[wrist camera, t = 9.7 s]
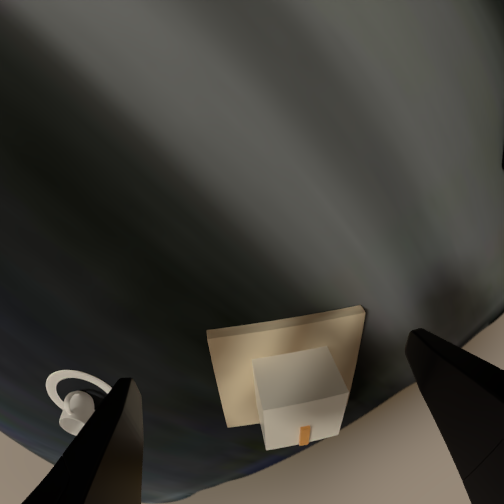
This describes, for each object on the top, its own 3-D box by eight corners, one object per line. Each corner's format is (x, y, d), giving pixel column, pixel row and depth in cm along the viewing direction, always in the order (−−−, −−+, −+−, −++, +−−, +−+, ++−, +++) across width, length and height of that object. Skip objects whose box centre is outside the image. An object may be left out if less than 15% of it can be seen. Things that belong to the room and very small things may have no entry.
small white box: (326, 345, 24) (350, 395, 20) (321, 391, 27) (339, 437, 23) (251, 359, 24) (263, 414, 19) (256, 404, 27) (266, 453, 22)
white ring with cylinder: (119, 428, 29) (116, 460, 25) (50, 408, 26) (41, 438, 23) (128, 380, 25) (122, 417, 22) (45, 355, 23) (31, 389, 19)
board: (360, 304, 24) (382, 336, 21) (343, 397, 30) (357, 427, 26) (206, 330, 23) (209, 369, 20) (226, 419, 29) (231, 452, 25)
